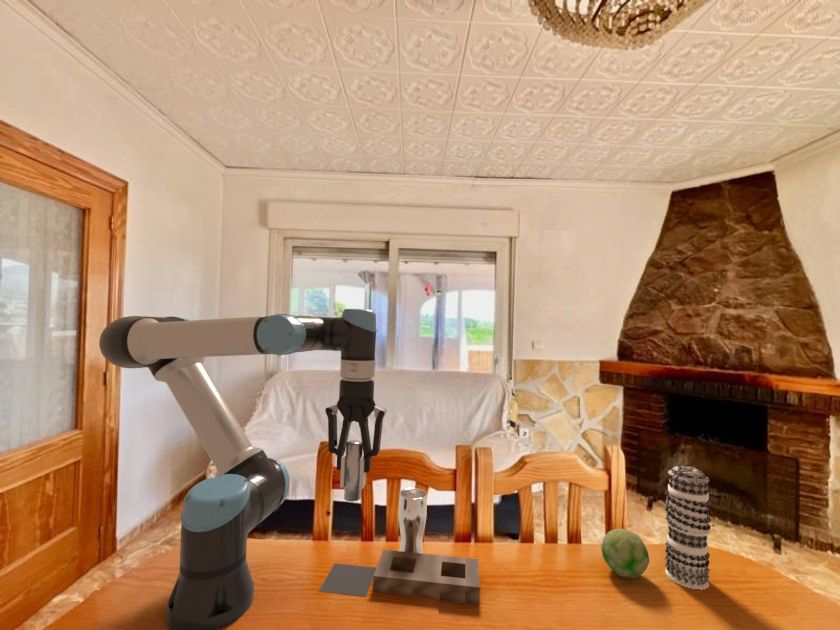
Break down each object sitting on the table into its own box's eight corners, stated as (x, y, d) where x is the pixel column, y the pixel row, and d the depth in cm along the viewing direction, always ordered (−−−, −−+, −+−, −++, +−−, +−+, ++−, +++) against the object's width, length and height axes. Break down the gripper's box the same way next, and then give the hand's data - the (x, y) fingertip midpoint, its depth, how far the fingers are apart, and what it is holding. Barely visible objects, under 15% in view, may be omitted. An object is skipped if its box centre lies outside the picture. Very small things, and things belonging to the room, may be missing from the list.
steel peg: (342, 500, 86) (344, 444, 87) (346, 493, 90) (349, 439, 90) (358, 502, 86) (360, 445, 86) (362, 495, 90) (364, 440, 90)
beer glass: (422, 565, 94) (424, 500, 94) (393, 561, 95) (395, 497, 96) (427, 549, 101) (429, 489, 101) (400, 545, 102) (402, 486, 103)
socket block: (372, 592, 84) (373, 575, 84) (382, 564, 94) (383, 549, 94) (479, 604, 81) (479, 587, 81) (477, 574, 91) (478, 559, 91)
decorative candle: (661, 580, 92) (663, 469, 92) (664, 561, 99) (666, 459, 100) (711, 597, 86) (713, 479, 87) (710, 575, 94) (711, 468, 95)
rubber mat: (318, 593, 83) (318, 591, 83) (334, 564, 93) (334, 563, 93) (365, 598, 82) (365, 596, 82) (376, 569, 92) (376, 567, 92)
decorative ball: (621, 590, 87) (622, 544, 88) (591, 564, 97) (592, 522, 97) (659, 585, 90) (660, 540, 90) (626, 560, 99) (627, 519, 100)
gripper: (314, 379, 86) (310, 489, 85) (391, 383, 84) (386, 496, 83) (326, 374, 93) (322, 476, 93) (397, 378, 91) (393, 482, 91)
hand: (353, 485), depth 88 cm, fingers closed on steel peg, 3 cm apart
